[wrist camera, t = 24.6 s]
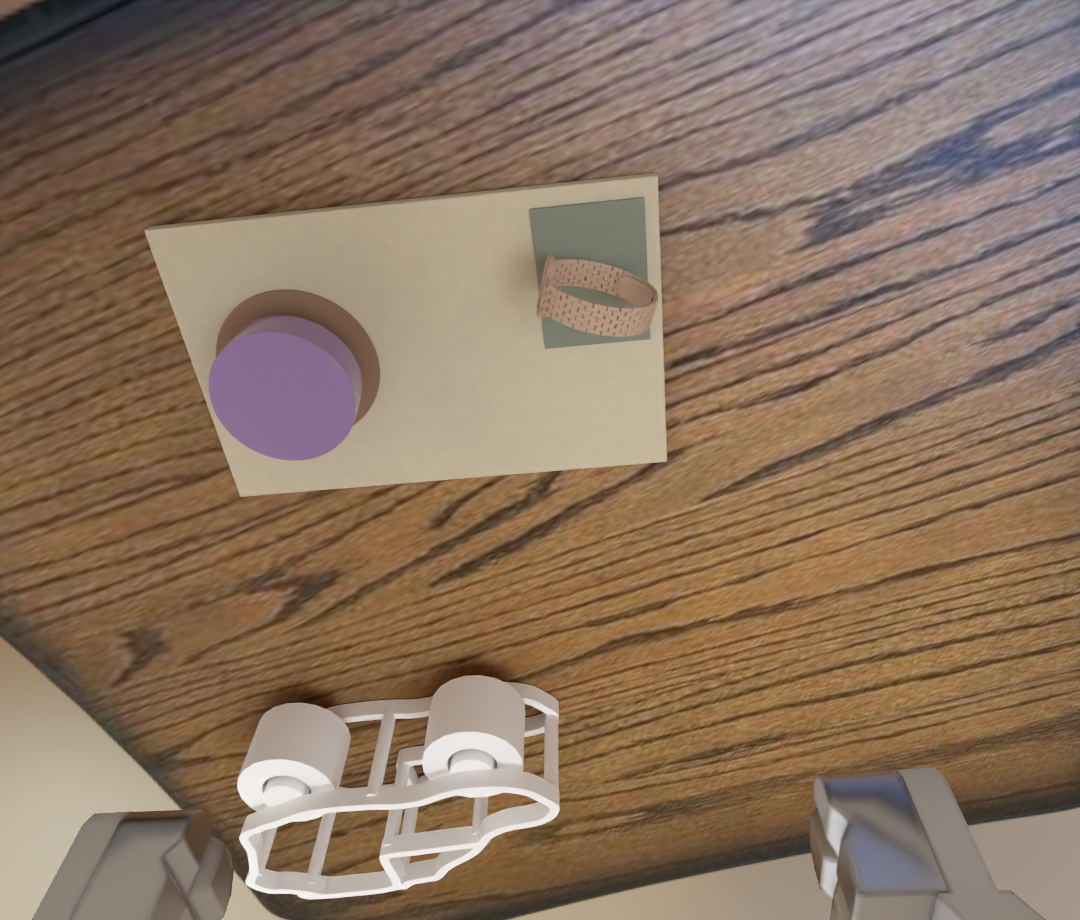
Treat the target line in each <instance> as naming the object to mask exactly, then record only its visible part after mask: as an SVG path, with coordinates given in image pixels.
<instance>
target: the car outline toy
mask: <svg viewBox="0 0 1080 920" xmlns="http://www.w3.org/2000/svg"><path fill="white" fill-rule="evenodd" d="M525 704H528V705H530V706H533V707H535V708H536V709H538V710H540V711H542V712H543V713H541V714H539V715H535V716H531V717H526V718H525ZM427 716H429V719H428V725H427V731H426V737H425V744H424V745H423V746H416V747H409V748H404V749H402V750H399V753H398V758H397V763H396V768H397V772H396V778H395V783H393V784H385V785H382V784H383V779H384V774H385V769H386V764H387V759H388V755H389V750H390V745H391V740H392V735H393V730H394V725H395V720H396V719H412V718H420V717H427ZM379 719H382V723H381V727H380V732H379V736H378V741H377V745H376V750H375V754H374V759H373V763H372V768H371V772H370V777H369V781H368V786H367V787H359V788H346V787H339V785H340V781H341V777H342V773H343V769H344V765H345V761H346V757H347V753H348V749H349V745H350V740H351V736H350V733H349V729H348V727H347V726H346V724H345V723H349V722H357V721H366V720H379ZM558 720H559V702H558V700H557V699H556V698H554V697H553V696H552V695H550V694H548V693H546V692H544V691H543V690H541V689H539V688H537V687H535V686H532V685H528V684H523V683H515V682H503V681H501V680H499V679H497V678H493V677H487V676H482V675H472V676H463V677H459V678H456V679H452V680H450V681H448V682H447V683H445V684H444V685H442V686H440V688H439V689H438V690H437V691H436V693H435V694H434V695H433V696H431V697H426V698H420V699H395V700H378V701H366V702H358V703H351V704H344V705H338V706H333V707H329V708H326V709H324V708H322V707H320V706H317V705H312V704H307V703H286V704H283V705H279V706H276V707H273V708H272V709H270V710H269V711H267V712H266V713H265V714H264V715H263V717H262V718H261V720H260V721H259V724H258V726H257V729H256V732H255V734H254V737H253V740H252V742H251V745H250V748H249V750H248V753H247V756H246V758H245V761H244V764H243V766H242V769H241V772H240V774H239V777H238V784H237V789H238V791H239V794H240V796H241V798H242V799H243V800H244V801H245V802H246V804H247V805H248V806H249V807H251V808H252V809H254V810H256V811H257V812H255V813H253V814H250V815H248V816H247V817H246V820H245V822H244V825H243V828H242V831H241V834H240V837H239V840H240V842H241V844H242V845H243V847H244V848H245V850H246V851H247V854H248V861H249V872H248V875H247V878H246V884H247V886H249V887H251V888H253V889H255V890H258V891H261V892H265V893H269V894H281V893H283V894H297V895H298V897H300V898H305V899H326V898H340V897H350V896H361V895H370V894H378V893H385V892H391V891H395V890H399V889H403V890H405V889H407V888H409V887H410V886H412V885H414V884H419V883H425V882H430V881H437V880H439V879H441V878H442V877H443V876H444V875H445V874H446V873H447V872H448V871H449V870H450V869H452V868H453V867H455V866H457V865H459V864H461V863H463V862H465V861H467V860H469V859H471V858H473V857H474V856H476V855H477V854H478V853H480V852H481V851H482V850H483V848H484V847H485V846H486V845H487V844H488V842H489V841H490V840H491V838H493V837H495V836H497V835H499V834H502V833H504V832H508V831H512V830H517V829H523V828H529V827H534V826H538V825H542V824H544V823H547V822H549V821H551V820H552V819H554V818H555V817H556V816H557V815H558V813H559V788H558ZM544 732H545V750H544V779H542V778H540V777H539V776H537V775H534V774H531V773H527V772H522V771H523V761H524V737H528V736H533V735H537V734H541V733H544ZM414 765H422V766H423V771H424V773H425V775H423V776H421V777H420V778H418V776H417V773H416V771H415V769H414V767H413V766H414ZM502 792H505V793H515V794H520V795H525V796H528V797H530V798H532V799H534V800H536V801H538V803H534V804H530V805H525V806H519V807H513V808H508V809H504V810H501V811H498V812H496V813H493V814H491V815H489V816H487V807H488V796H492V795H496V794H500V793H502ZM456 795H458V796H464V797H470V798H474V797H475V800H474V811H473V821H472V826H466V827H459V828H451V829H443V830H436V831H428V832H421V833H414V832H415V826H416V819H417V813H418V806H423V805H427V804H430V803H432V802H435V801H438V800H441V799H444V798H448V797H452V796H456ZM405 808H406V809H405ZM403 809H405V815H404V821H403V827H402V832H401V835H399V829H400V823H401V818H402V812H403ZM358 810H389V815H388V820H387V825H386V830H385V836H384V839H383V840H382V846H381V851H380V856H379V858H380V862H381V864H382V866H383V868H384V870H385V871H381V872H373V873H365V874H354V875H344V876H332V877H328V876H321V871H322V867H323V863H324V859H325V855H326V851H327V847H328V843H329V839H330V835H331V831H332V827H333V823H334V819H335V815H336V812H344V811H358ZM322 815H323V816H322ZM321 816H322V820H321V823H320V827H319V831H318V835H317V839H316V842H315V846H314V850H313V854H312V858H311V861H310V865H309V869H308V873H300V872H275V871H271V870H267V869H265V866H266V863H267V860H268V856H269V853H270V850H271V847H272V843H273V840H274V837H275V834H276V831H277V827H279V826H282V825H284V824H287V823H290V822H295V821H308V820H312V819H316V818H319V817H321ZM261 832H262V834H261ZM438 852H441V853H440V854H439V856H438V857H437V858H436V859H430V860H426V861H419V862H414V863H411V864H410V857H411V856H414V855H422V854H430V853H438Z"/></svg>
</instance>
